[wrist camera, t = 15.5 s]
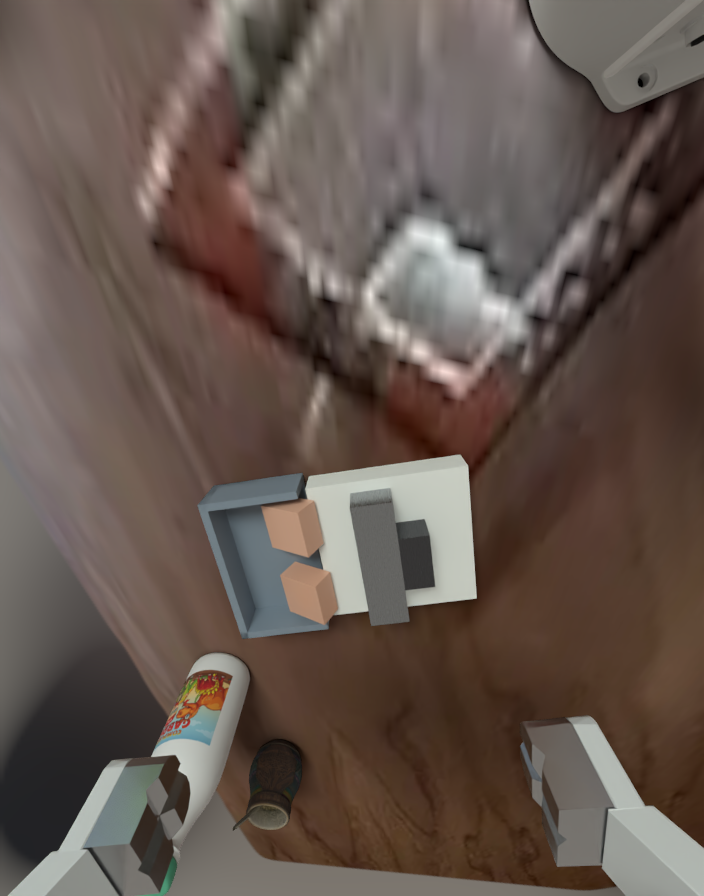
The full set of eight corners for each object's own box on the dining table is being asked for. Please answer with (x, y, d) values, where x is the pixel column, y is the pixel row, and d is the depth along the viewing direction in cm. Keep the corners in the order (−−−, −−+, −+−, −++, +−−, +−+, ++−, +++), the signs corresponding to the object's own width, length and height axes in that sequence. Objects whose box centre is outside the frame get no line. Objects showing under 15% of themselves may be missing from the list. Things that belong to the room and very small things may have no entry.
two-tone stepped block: (350, 493, 38) (420, 483, 37) (370, 604, 43) (433, 597, 42) (349, 508, 35) (425, 497, 35) (371, 625, 40) (438, 618, 39)
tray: (302, 472, 40) (296, 491, 36) (331, 600, 46) (328, 629, 42) (213, 485, 41) (197, 505, 37) (252, 609, 47) (242, 638, 43)
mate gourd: (300, 769, 57) (287, 860, 48) (250, 759, 57) (227, 849, 47) (310, 738, 55) (298, 827, 45) (258, 727, 54) (235, 815, 45)
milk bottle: (260, 664, 50) (201, 878, 31) (237, 700, 52) (169, 920, 33) (205, 641, 49) (109, 850, 30) (184, 679, 51) (83, 895, 32)
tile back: (329, 571, 41) (315, 587, 39) (338, 608, 42) (324, 625, 40) (295, 561, 43) (280, 575, 41) (304, 596, 45) (290, 611, 43)
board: (460, 454, 39) (467, 465, 37) (469, 580, 45) (476, 598, 42) (308, 476, 41) (305, 488, 38) (335, 596, 46) (333, 615, 43)
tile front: (314, 500, 38) (297, 513, 36) (323, 543, 39) (308, 557, 37) (277, 494, 40) (260, 505, 39) (288, 534, 42) (272, 547, 40)
